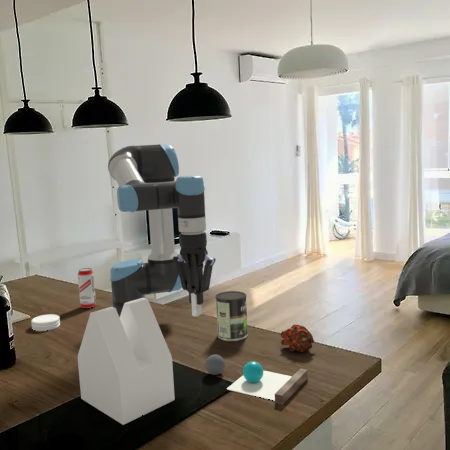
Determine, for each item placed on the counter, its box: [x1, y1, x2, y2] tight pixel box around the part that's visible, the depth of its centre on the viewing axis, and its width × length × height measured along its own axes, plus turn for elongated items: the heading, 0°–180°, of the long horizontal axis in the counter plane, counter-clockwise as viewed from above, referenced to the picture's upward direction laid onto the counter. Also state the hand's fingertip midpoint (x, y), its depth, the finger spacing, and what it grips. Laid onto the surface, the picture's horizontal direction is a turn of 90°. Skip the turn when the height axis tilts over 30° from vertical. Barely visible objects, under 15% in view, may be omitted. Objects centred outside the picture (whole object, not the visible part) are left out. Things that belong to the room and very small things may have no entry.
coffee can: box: [214, 290, 249, 342], centre depth 169 cm, size 10×10×14 cm
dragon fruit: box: [279, 324, 315, 353], centre depth 155 cm, size 8×8×12 cm
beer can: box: [77, 267, 97, 309], centre depth 208 cm, size 6×6×16 cm
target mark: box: [226, 369, 293, 402], centre depth 134 cm, size 14×14×1 cm
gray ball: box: [204, 354, 226, 376], centre depth 141 cm, size 6×6×6 cm
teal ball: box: [242, 360, 264, 383], centre depth 135 cm, size 6×6×6 cm
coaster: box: [30, 313, 61, 332], centre depth 187 cm, size 10×10×4 cm
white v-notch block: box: [77, 297, 175, 426], centre depth 127 cm, size 19×15×25 cm
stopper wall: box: [274, 368, 308, 406], centre depth 129 cm, size 16×2×2 cm, turn 149°
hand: (197, 314), depth 142 cm, fingers closed
